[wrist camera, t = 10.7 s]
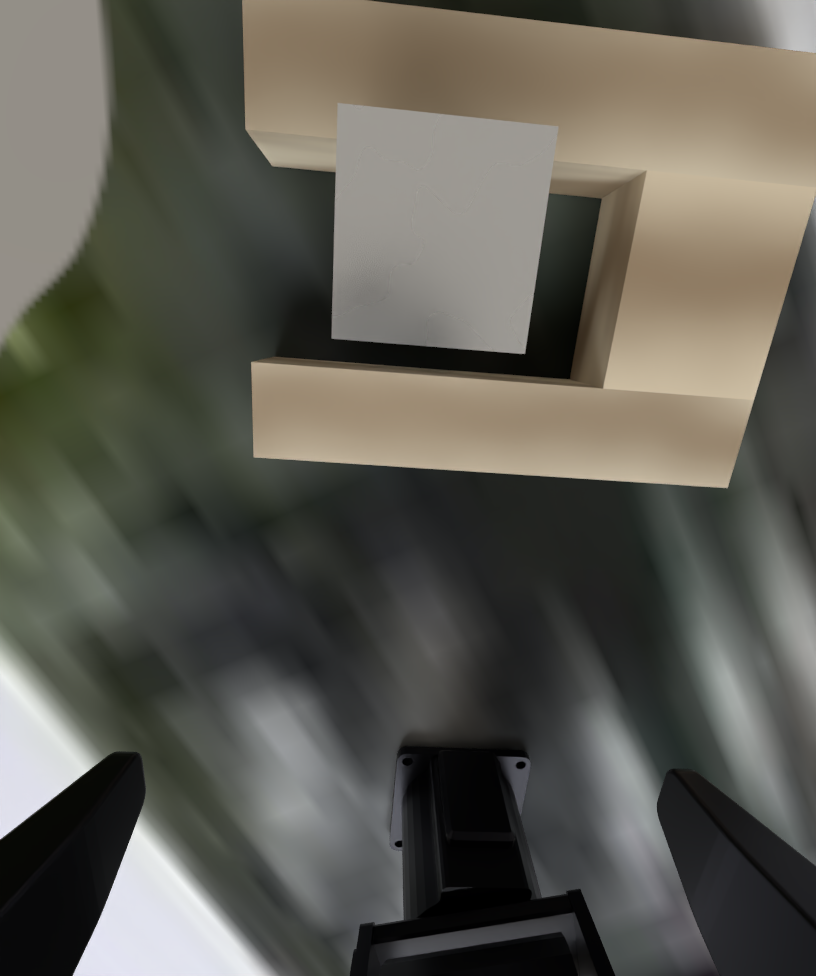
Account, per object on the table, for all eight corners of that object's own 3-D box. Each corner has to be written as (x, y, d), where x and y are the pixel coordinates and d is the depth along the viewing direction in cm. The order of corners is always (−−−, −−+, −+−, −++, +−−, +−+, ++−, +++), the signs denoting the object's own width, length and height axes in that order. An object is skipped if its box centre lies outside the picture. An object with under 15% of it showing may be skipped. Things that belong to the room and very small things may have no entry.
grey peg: (467, 343, 18) (524, 354, 10) (358, 334, 17) (331, 338, 10) (480, 221, 16) (558, 126, 9) (363, 210, 16) (337, 103, 8)
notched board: (677, 464, 19) (727, 488, 16) (275, 437, 18) (253, 457, 15) (771, 107, 15) (856, 57, 13) (271, 52, 15) (241, -15, 12)
